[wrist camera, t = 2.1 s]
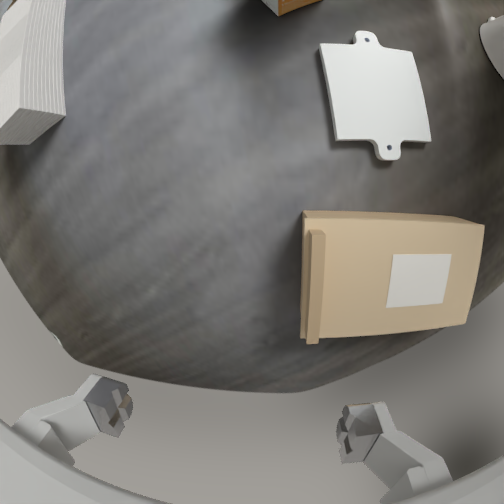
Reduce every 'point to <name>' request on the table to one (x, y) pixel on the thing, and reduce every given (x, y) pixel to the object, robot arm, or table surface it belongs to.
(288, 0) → the small box
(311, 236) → the lid
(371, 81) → the mounting plate
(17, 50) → the stack of papers
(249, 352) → the table surface
